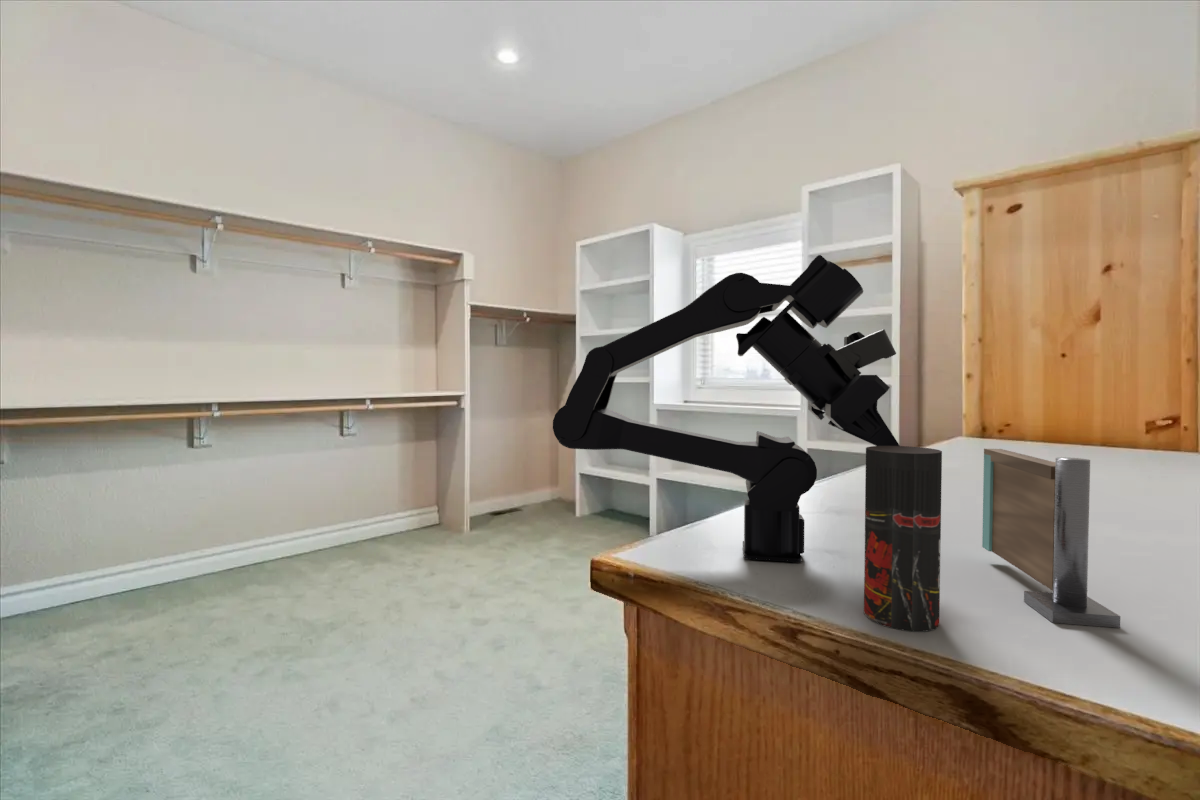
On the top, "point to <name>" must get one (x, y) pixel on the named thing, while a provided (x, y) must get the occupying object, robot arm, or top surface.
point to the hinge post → (1071, 553)
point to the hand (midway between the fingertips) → (896, 450)
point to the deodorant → (903, 537)
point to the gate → (1020, 511)
